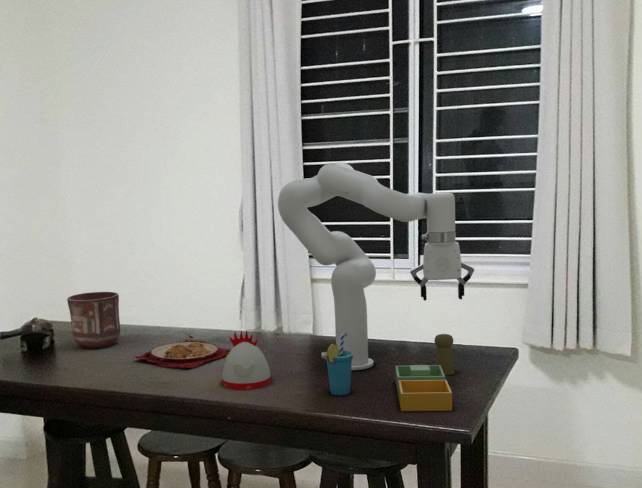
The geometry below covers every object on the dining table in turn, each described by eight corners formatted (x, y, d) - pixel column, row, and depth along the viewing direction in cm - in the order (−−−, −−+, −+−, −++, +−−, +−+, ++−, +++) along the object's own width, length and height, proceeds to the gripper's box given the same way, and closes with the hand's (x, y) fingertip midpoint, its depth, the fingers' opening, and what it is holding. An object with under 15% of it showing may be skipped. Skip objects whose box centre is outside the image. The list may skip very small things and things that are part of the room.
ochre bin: (401, 411, 186) (400, 393, 185) (398, 397, 197) (398, 380, 196) (452, 410, 184) (452, 392, 183) (446, 396, 195) (446, 379, 194)
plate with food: (132, 362, 247) (131, 351, 246) (187, 343, 267) (186, 333, 266) (185, 372, 232) (184, 361, 232) (239, 351, 252) (238, 341, 251)
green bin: (397, 393, 199) (397, 377, 199) (395, 381, 210) (395, 365, 210) (445, 393, 198) (445, 376, 197) (440, 380, 209) (440, 365, 208)
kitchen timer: (224, 376, 224) (221, 326, 222) (271, 374, 224) (268, 324, 221) (220, 390, 211) (217, 337, 208) (270, 388, 210) (267, 335, 207)
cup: (333, 383, 212) (332, 330, 209) (361, 384, 209) (359, 331, 206) (319, 398, 199) (317, 342, 196) (348, 400, 196) (346, 343, 194)
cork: (455, 375, 213) (455, 337, 211) (433, 375, 215) (433, 337, 213) (454, 369, 219) (454, 332, 217) (433, 369, 220) (432, 332, 218)
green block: (411, 388, 202) (411, 370, 201) (410, 382, 207) (409, 365, 206) (430, 388, 201) (430, 369, 200) (428, 382, 206) (428, 364, 205)
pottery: (82, 339, 283) (78, 292, 280) (128, 338, 280) (124, 290, 277) (64, 351, 265) (59, 301, 262) (112, 350, 263) (108, 299, 260)
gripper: (410, 240, 207) (411, 302, 210) (475, 238, 204) (476, 300, 207) (408, 238, 214) (410, 297, 217) (471, 235, 212) (472, 295, 214)
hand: (442, 299), depth 212 cm, fingers open, 9 cm apart
